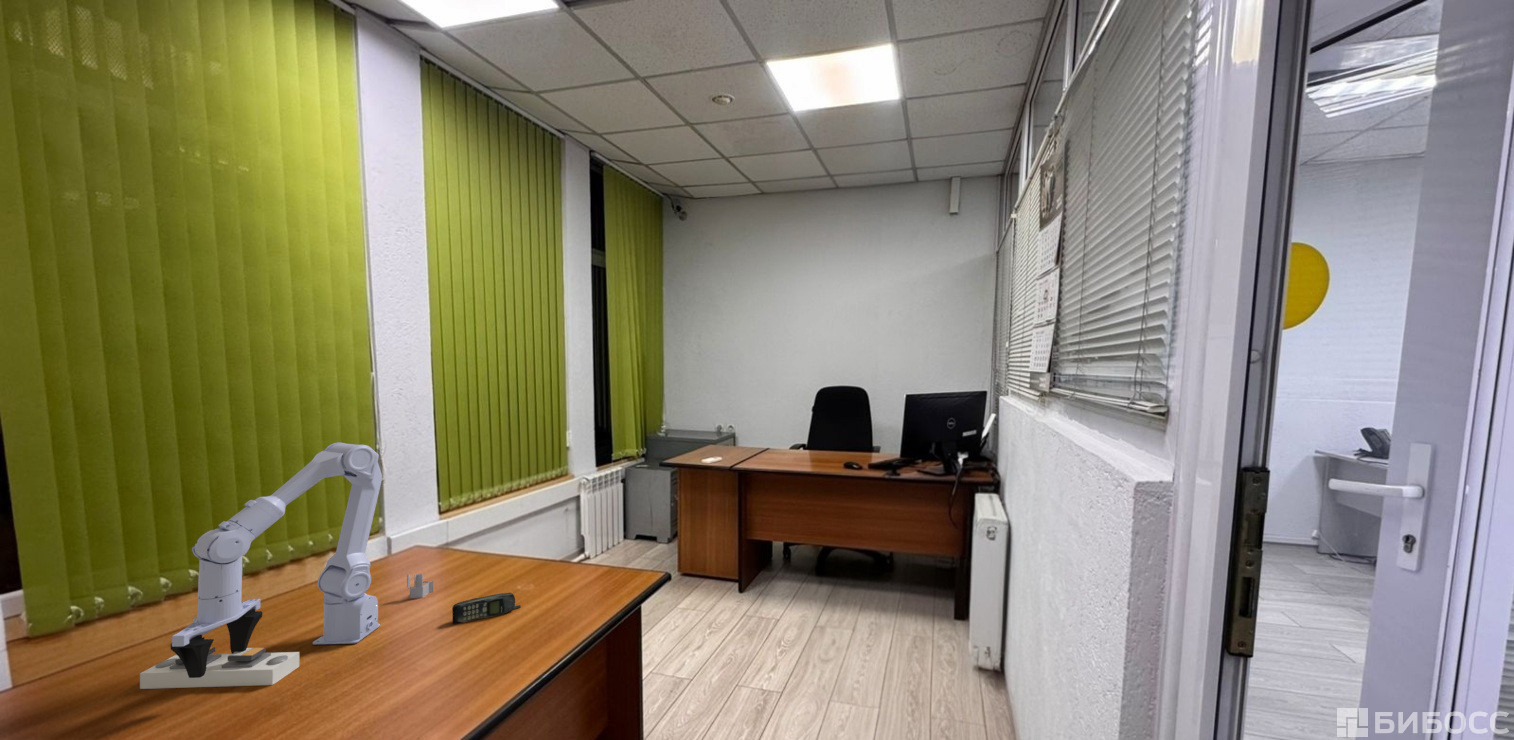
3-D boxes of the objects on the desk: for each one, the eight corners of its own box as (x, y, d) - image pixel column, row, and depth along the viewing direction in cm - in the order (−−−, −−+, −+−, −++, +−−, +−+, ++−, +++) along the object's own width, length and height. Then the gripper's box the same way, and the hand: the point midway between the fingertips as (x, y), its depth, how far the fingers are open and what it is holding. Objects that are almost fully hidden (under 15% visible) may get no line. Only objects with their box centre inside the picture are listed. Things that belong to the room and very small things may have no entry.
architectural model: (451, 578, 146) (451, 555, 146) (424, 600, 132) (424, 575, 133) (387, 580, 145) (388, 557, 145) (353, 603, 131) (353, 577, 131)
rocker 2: (265, 652, 100) (265, 647, 100) (251, 660, 97) (251, 655, 97) (242, 652, 100) (242, 647, 100) (227, 660, 97) (227, 655, 97)
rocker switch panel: (299, 666, 102) (299, 649, 102) (272, 684, 96) (272, 666, 96) (174, 669, 101) (175, 652, 101) (140, 688, 95) (140, 670, 95)
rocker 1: (215, 651, 100) (214, 646, 100) (199, 660, 97) (198, 655, 97) (192, 655, 99) (191, 650, 99) (175, 664, 96) (175, 659, 96)
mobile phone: (452, 606, 119) (521, 591, 126) (452, 601, 121) (520, 587, 129) (452, 627, 119) (521, 611, 126) (452, 621, 121) (520, 606, 129)
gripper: (235, 577, 102) (233, 643, 102) (154, 611, 87) (152, 688, 87) (271, 577, 102) (270, 643, 102) (196, 610, 88) (194, 687, 88)
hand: (218, 664), depth 95 cm, fingers open, 7 cm apart
